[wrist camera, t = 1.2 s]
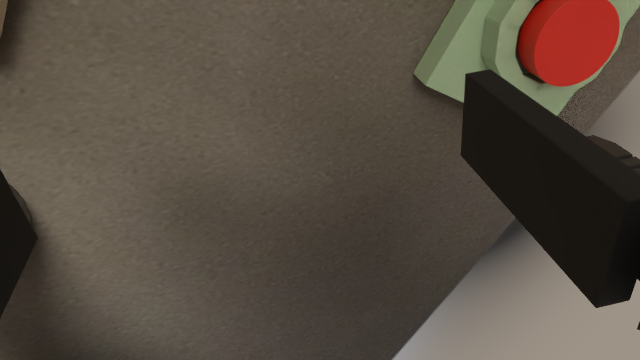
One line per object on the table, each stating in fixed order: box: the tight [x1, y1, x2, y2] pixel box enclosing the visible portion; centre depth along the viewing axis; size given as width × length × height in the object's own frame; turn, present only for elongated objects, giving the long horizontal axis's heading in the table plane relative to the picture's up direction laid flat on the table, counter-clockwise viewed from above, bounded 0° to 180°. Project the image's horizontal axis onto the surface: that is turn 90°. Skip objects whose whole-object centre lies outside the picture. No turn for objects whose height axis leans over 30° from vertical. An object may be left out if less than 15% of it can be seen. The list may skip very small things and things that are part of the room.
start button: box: [518, 0, 620, 87], centre depth 28 cm, size 5×5×2 cm
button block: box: [413, 0, 640, 116], centre depth 30 cm, size 12×10×4 cm
